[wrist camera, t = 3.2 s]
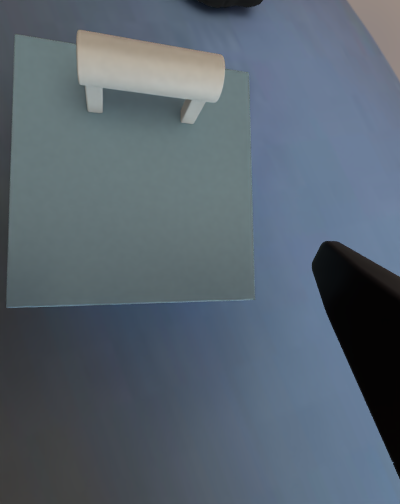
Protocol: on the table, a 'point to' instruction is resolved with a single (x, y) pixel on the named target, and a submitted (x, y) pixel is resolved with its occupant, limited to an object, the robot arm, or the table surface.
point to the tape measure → (231, 3)
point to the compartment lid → (128, 175)
